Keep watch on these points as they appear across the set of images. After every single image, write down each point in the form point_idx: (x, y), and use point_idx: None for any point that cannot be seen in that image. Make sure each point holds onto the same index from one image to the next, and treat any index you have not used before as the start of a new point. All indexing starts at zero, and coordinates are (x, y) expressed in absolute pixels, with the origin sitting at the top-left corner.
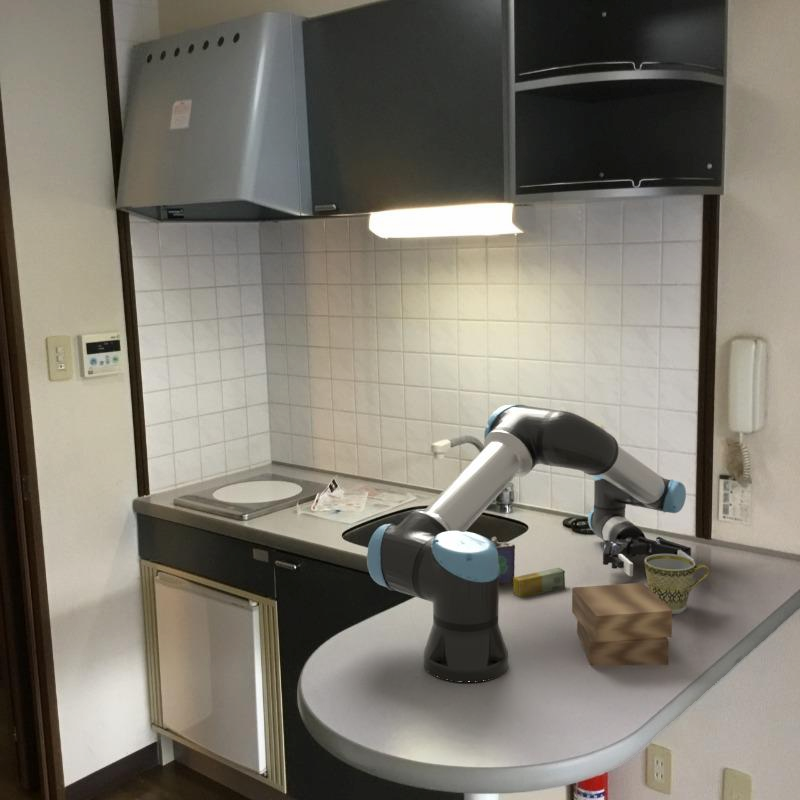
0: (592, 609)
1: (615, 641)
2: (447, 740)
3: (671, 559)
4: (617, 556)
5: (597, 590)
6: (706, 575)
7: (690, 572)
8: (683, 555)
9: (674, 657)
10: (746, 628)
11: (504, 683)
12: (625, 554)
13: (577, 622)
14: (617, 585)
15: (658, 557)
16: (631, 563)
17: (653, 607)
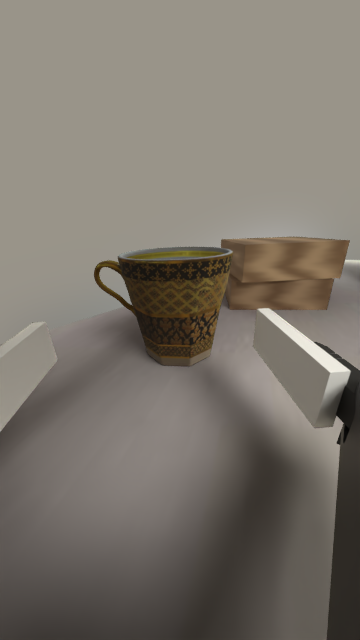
0: (301, 237)
1: None
2: (351, 263)
3: (148, 274)
4: (354, 389)
5: (308, 240)
6: (103, 284)
7: (150, 258)
8: (8, 356)
9: None
10: (107, 313)
11: (353, 277)
12: (336, 605)
13: (329, 294)
14: (282, 242)
15: (184, 268)
16: (263, 310)
17: (238, 239)
